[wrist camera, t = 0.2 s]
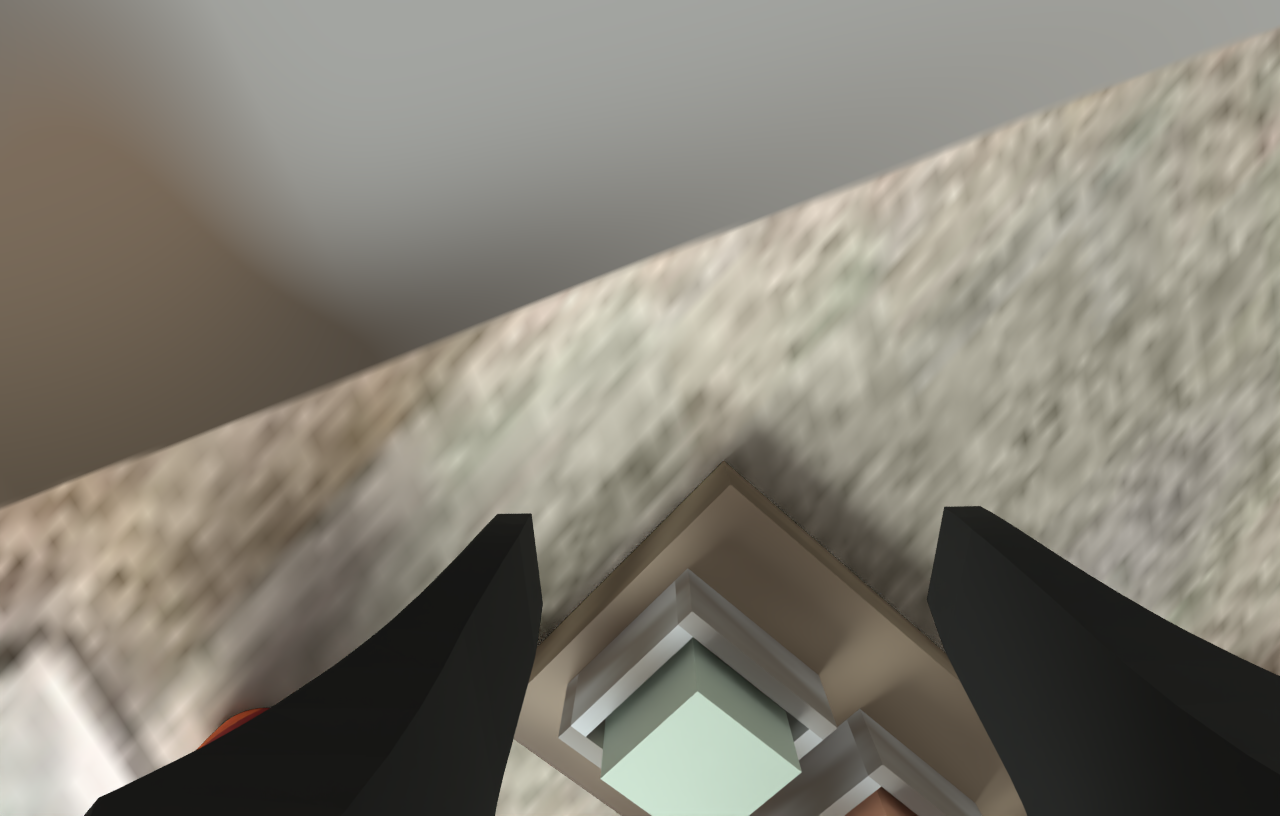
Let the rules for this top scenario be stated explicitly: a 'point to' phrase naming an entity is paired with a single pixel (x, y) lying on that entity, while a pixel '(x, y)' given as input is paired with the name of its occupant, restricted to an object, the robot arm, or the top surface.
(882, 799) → the terracotta button
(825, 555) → the button board
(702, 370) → the top surface
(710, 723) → the sage button
